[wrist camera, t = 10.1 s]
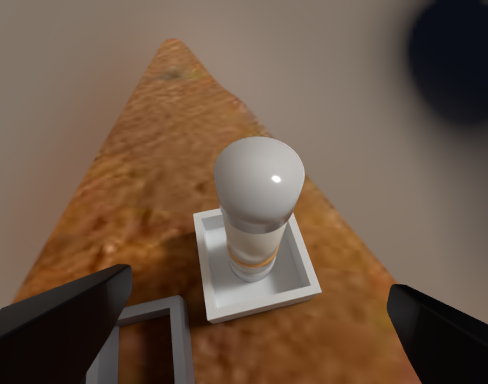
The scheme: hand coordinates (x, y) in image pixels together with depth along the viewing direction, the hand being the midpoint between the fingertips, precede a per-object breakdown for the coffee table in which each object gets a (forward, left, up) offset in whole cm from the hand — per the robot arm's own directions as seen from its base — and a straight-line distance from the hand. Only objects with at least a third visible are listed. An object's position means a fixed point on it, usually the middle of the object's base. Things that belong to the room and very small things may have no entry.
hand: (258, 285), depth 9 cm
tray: (+4, -1, -13) cm, 14 cm away
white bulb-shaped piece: (+4, -1, -12) cm, 13 cm away
